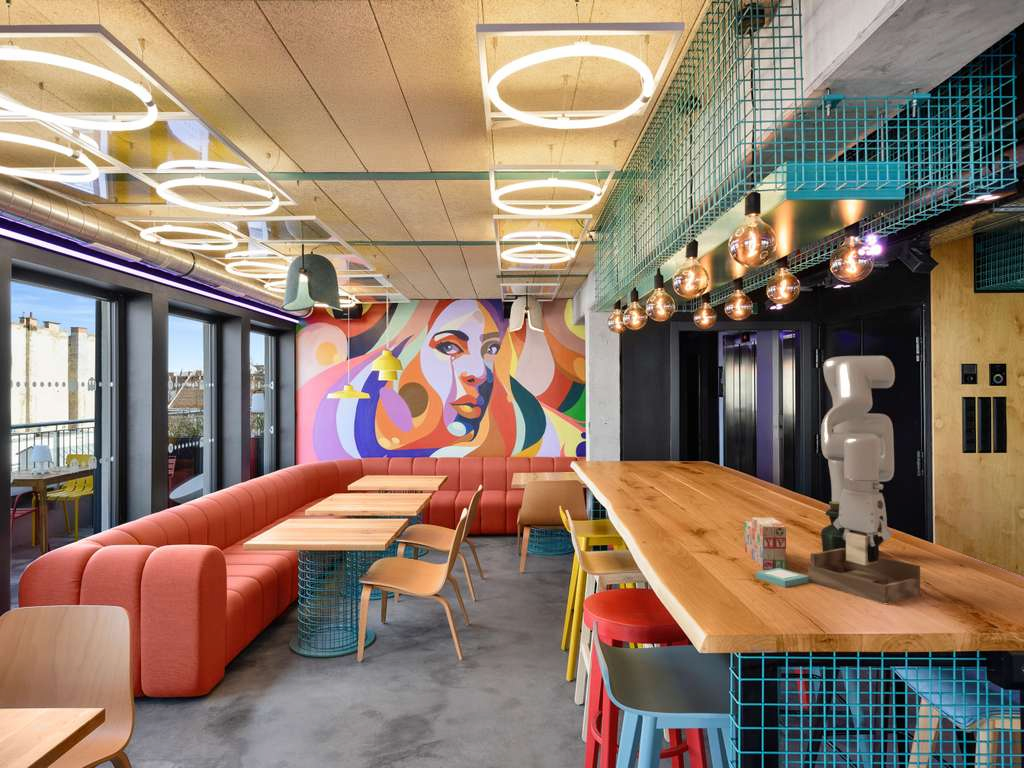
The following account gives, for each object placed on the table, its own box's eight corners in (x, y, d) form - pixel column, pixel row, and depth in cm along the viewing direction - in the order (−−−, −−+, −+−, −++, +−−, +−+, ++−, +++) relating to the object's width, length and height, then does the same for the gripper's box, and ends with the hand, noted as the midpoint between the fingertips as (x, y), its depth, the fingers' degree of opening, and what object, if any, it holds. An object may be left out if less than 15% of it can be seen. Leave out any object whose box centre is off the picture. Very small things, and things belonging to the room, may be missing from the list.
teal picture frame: (778, 573, 169) (778, 567, 169) (808, 582, 161) (808, 575, 161) (755, 577, 165) (755, 571, 165) (784, 587, 157) (784, 580, 157)
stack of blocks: (744, 551, 194) (744, 511, 194) (765, 551, 193) (765, 511, 193) (762, 570, 173) (762, 525, 173) (786, 571, 172) (786, 526, 172)
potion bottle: (815, 563, 179) (815, 500, 180) (843, 563, 179) (843, 500, 180) (830, 571, 171) (829, 505, 172) (859, 571, 171) (859, 505, 172)
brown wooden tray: (842, 574, 169) (842, 548, 169) (920, 595, 151) (920, 565, 151) (808, 581, 162) (807, 554, 162) (885, 604, 144) (885, 573, 144)
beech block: (858, 557, 161) (858, 530, 160) (877, 562, 156) (877, 534, 156) (846, 560, 158) (845, 532, 158) (865, 565, 154) (865, 536, 154)
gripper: (904, 489, 151) (905, 564, 151) (839, 480, 166) (839, 548, 166) (886, 492, 148) (886, 569, 148) (820, 482, 163) (821, 552, 163)
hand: (861, 557), depth 157 cm, fingers closed on beech block, 5 cm apart
